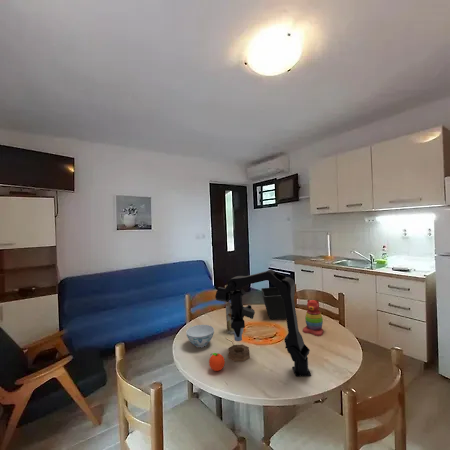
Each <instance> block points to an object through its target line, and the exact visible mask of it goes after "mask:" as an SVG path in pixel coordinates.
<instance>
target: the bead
mask: <svg viewBox="0 0 450 450" xmlns="http://www.w3.org/2000/svg"><path fill="white" fill-rule="evenodd" d="M227 351H228V359H229V360H231V361H233V362H237V363H238V362H245V361H247V360H249V359H250V356H251V355H250V354H251V353H250V348H249V346H247V345H244V344H235V345H233V344H232V345H231V346H229V347H228V350H227Z"/></svg>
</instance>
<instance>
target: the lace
mask: <svg viewBox="0 0 450 450" xmlns="http://www.w3.org/2000/svg"><path fill="white" fill-rule="evenodd" d="M225 339H226V340H228V341H230V342H232V346H233V345H236V344H235V340H232V339H231V338H228V337H225Z"/></svg>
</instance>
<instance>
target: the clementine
mask: <svg viewBox="0 0 450 450" xmlns="http://www.w3.org/2000/svg"><path fill="white" fill-rule="evenodd" d="M209 356H210V357H209V361H208V365H209V367H210V369H211V370H212V371H215V372H220V371H222V370H223V368H224V367H225V364H226V362H225V358H224V356H223V354H220V353H217V352H213V353H211V354H210V355H209Z"/></svg>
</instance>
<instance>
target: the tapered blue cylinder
mask: <svg viewBox="0 0 450 450" xmlns="http://www.w3.org/2000/svg"><path fill="white" fill-rule="evenodd" d="M233 335H234V337H233V338H234V342H235V341H236V342H241V341H243V333H242V329H241V331H240V337H237V336H236V333H235V331H234V334H233Z"/></svg>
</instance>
